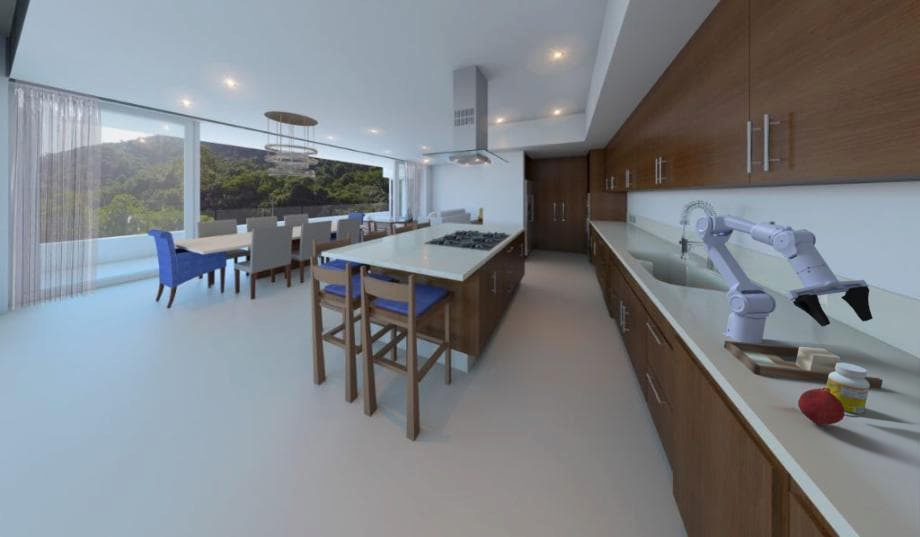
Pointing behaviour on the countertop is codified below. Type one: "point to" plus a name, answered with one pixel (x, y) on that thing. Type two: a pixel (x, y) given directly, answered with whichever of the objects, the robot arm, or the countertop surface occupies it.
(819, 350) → the cream cube
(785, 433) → the countertop surface
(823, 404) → the red oval lump
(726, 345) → the wooden tray
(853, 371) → the supplement bottle
